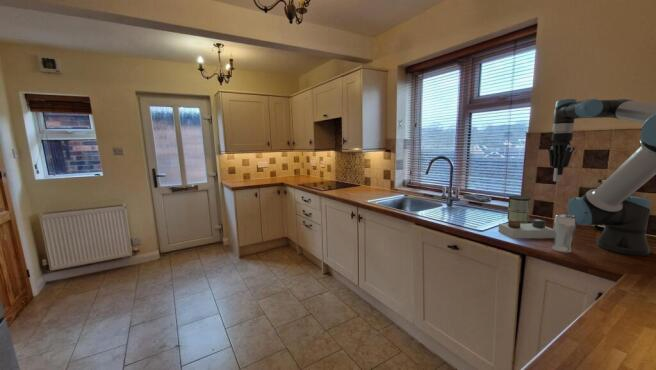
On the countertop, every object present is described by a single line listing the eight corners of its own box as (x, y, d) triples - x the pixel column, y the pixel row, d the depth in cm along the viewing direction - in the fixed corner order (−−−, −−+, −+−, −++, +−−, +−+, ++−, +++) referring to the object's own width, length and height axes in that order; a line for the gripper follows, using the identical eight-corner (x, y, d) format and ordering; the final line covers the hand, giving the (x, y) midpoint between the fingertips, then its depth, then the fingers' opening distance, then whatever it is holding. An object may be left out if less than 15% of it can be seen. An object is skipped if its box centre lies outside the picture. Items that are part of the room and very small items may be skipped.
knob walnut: (522, 233, 130) (523, 221, 129) (511, 233, 130) (512, 221, 129) (515, 230, 135) (516, 219, 134) (505, 230, 135) (506, 219, 134)
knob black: (546, 233, 129) (548, 221, 128) (536, 233, 129) (537, 221, 129) (539, 230, 134) (540, 218, 133) (529, 230, 134) (530, 218, 134)
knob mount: (554, 238, 126) (555, 230, 126) (512, 238, 127) (513, 230, 126) (537, 230, 137) (538, 223, 137) (498, 231, 138) (499, 223, 137)
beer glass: (550, 250, 112) (554, 216, 110) (551, 245, 117) (555, 212, 115) (572, 254, 108) (577, 219, 105) (572, 249, 113) (577, 215, 110)
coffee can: (503, 217, 162) (505, 195, 160) (521, 218, 161) (523, 195, 159) (513, 222, 152) (515, 198, 150) (532, 223, 151) (535, 198, 149)
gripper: (582, 132, 121) (576, 182, 124) (558, 133, 134) (553, 179, 137) (566, 132, 121) (560, 183, 125) (543, 133, 134) (539, 179, 137)
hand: (556, 181), depth 131 cm, fingers closed
